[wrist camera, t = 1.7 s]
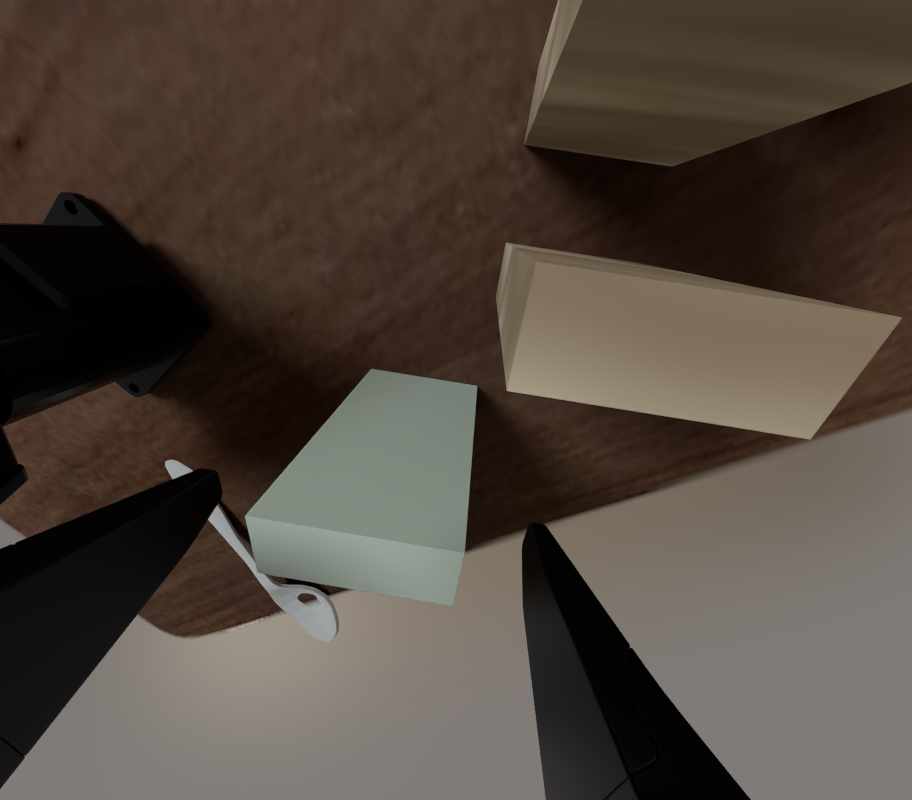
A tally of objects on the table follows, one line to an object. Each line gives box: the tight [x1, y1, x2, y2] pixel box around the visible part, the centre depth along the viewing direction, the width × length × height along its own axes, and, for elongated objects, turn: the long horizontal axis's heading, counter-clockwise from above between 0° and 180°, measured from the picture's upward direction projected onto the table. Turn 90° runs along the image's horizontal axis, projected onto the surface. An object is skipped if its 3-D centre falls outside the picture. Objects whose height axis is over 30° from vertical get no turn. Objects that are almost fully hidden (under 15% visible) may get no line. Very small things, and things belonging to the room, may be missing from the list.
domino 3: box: [496, 243, 902, 439], centre depth 9 cm, size 2×5×9 cm, turn 83°
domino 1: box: [245, 369, 477, 606], centre depth 12 cm, size 2×5×9 cm, turn 82°
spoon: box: [165, 460, 339, 642], centre depth 21 cm, size 4×21×2 cm, turn 26°
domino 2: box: [524, 0, 912, 167], centre depth 7 cm, size 2×5×9 cm, turn 83°
